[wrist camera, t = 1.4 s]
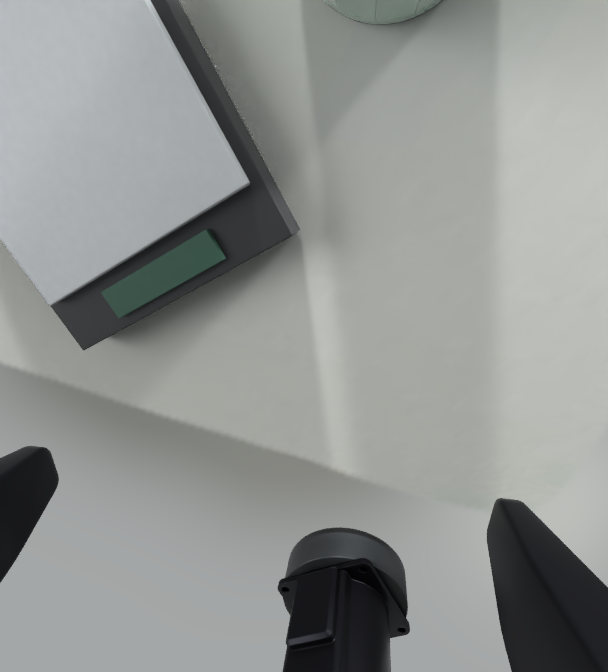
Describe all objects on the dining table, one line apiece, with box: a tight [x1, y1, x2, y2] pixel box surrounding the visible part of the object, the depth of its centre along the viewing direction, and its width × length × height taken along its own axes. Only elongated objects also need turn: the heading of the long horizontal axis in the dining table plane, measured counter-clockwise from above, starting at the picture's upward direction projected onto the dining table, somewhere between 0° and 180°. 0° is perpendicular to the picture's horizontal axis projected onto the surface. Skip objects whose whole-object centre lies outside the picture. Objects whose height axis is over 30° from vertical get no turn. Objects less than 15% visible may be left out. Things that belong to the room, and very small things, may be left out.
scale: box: [0, 0, 299, 350], centre depth 18 cm, size 14×12×2 cm
